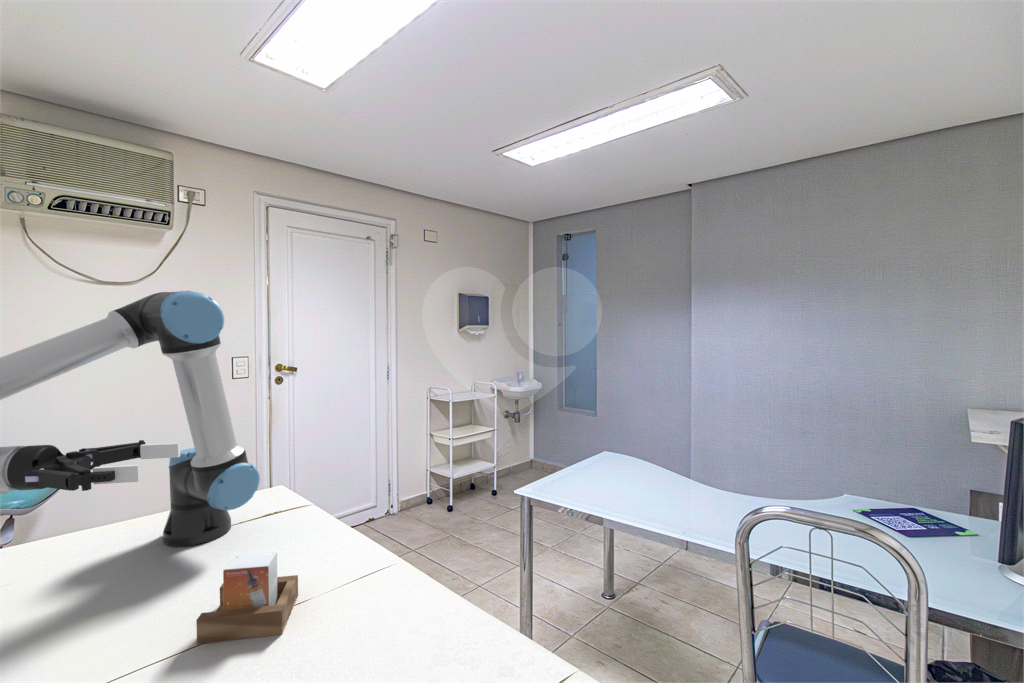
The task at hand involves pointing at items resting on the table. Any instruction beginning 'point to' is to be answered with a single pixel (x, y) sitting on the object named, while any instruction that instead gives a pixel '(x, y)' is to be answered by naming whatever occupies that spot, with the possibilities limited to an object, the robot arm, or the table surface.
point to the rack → (249, 617)
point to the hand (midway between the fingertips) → (161, 460)
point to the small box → (250, 581)
